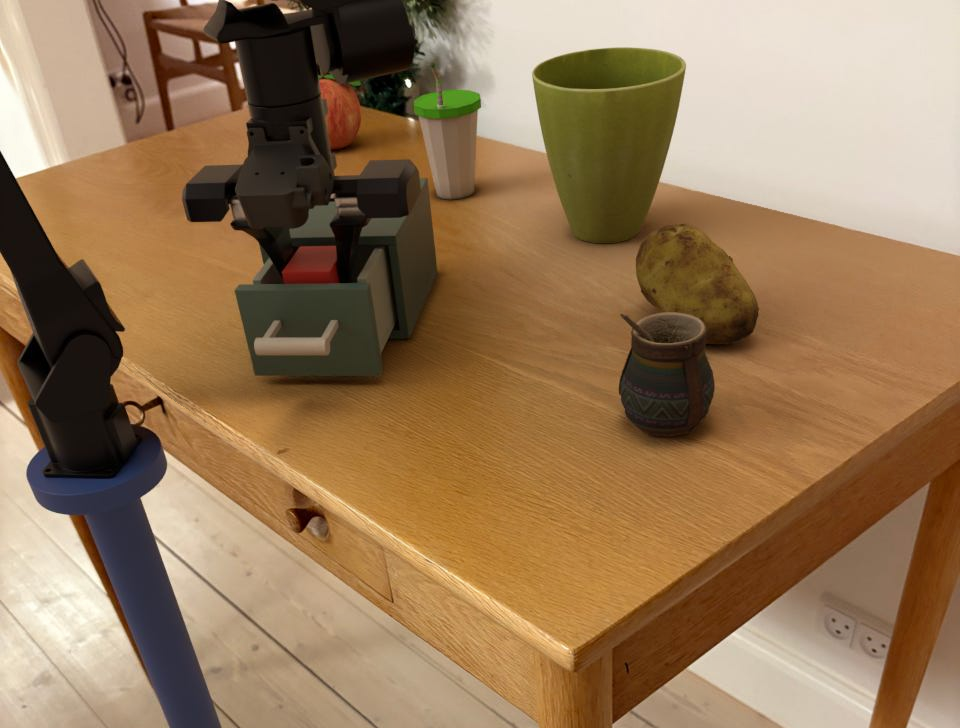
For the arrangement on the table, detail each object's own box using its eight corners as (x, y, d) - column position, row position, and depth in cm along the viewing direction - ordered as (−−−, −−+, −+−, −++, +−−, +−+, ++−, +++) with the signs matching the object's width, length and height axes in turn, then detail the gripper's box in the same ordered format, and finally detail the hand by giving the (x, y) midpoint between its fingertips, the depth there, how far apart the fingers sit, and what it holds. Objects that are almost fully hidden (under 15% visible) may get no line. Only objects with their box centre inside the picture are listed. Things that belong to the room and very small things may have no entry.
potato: (673, 366, 89) (678, 274, 84) (623, 306, 98) (625, 220, 93) (765, 349, 90) (775, 257, 85) (707, 291, 99) (713, 205, 94)
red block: (337, 316, 89) (329, 271, 86) (290, 317, 90) (281, 271, 87) (353, 289, 93) (346, 245, 90) (308, 290, 94) (299, 246, 91)
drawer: (367, 404, 86) (352, 315, 81) (236, 403, 88) (213, 316, 83) (411, 307, 100) (401, 225, 95) (297, 308, 102) (281, 228, 96)
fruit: (308, 138, 146) (294, 59, 139) (375, 135, 145) (364, 55, 138) (294, 159, 140) (278, 76, 133) (363, 155, 138) (351, 72, 132)
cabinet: (409, 339, 97) (395, 235, 90) (279, 339, 99) (257, 238, 92) (437, 274, 107) (427, 177, 101) (320, 275, 110) (303, 181, 103)
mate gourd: (732, 425, 81) (744, 302, 74) (656, 459, 78) (662, 335, 72) (670, 391, 86) (676, 272, 79) (597, 421, 83) (597, 301, 76)
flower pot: (705, 236, 109) (717, 67, 99) (582, 271, 105) (580, 98, 95) (629, 196, 120) (632, 39, 109) (514, 226, 115) (505, 66, 105)
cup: (455, 177, 129) (443, 41, 119) (501, 188, 125) (492, 48, 115) (409, 196, 125) (392, 57, 115) (455, 209, 121) (441, 65, 111)
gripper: (130, 133, 76) (186, 334, 86) (378, 124, 73) (406, 334, 83) (185, 90, 84) (230, 278, 94) (410, 80, 81) (432, 276, 91)
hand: (320, 292), depth 91 cm, fingers closed on red block, 4 cm apart
